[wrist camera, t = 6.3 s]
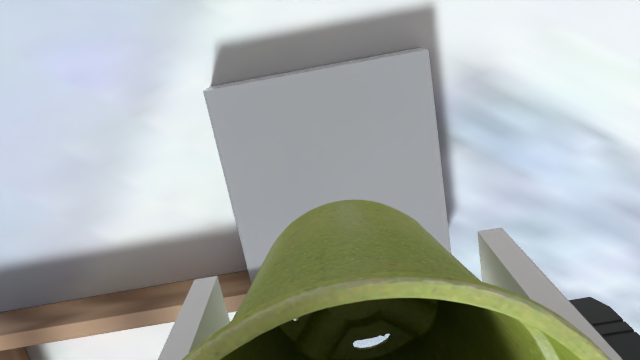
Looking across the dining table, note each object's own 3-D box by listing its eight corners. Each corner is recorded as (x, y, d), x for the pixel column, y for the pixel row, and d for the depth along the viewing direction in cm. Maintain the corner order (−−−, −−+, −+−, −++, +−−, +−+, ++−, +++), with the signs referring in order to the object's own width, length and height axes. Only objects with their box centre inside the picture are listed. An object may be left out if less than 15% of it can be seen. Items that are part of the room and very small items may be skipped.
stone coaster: (256, 273, 32) (252, 289, 30) (210, 86, 28) (203, 91, 26) (442, 241, 31) (451, 255, 30) (420, 47, 28) (428, 49, 26)
